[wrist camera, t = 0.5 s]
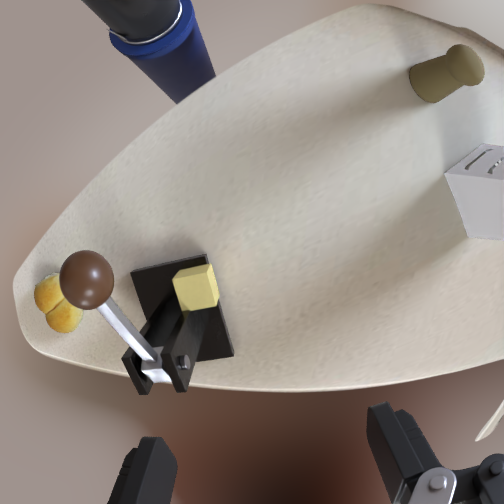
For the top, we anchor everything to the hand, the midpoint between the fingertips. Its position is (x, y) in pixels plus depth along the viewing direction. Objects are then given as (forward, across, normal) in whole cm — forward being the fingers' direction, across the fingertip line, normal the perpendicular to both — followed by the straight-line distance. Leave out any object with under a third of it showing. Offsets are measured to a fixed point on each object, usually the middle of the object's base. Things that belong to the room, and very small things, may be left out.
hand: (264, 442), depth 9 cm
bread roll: (+27, +30, 0) cm, 40 cm away
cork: (+27, -28, -19) cm, 44 cm away
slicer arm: (+14, +11, -1) cm, 17 cm away
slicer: (+27, +10, +5) cm, 29 cm away
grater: (+27, -34, -3) cm, 44 cm away
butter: (+26, +7, +1) cm, 26 cm away
